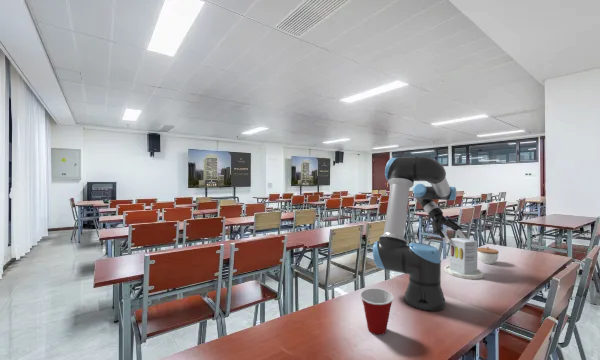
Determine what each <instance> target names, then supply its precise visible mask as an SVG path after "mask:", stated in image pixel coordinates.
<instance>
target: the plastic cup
mask: <svg viewBox="0 0 600 360" xmlns="http://www.w3.org/2000/svg"><path fill="white" fill-rule="evenodd" d="M359 294H360V295H359V296H360V299H361V301H362V304H363V309H364V314H365V320H366V325H367V330H368V331H369V332H370V333H371V332H372V333H371V334H373V333H375V334H374V335H377V334H381V335H384V334H385V333H386V332H387V329H388V323H389V320H390V313H391V307H392V303H393V300H394V298H395V297H394V294H393V293H392V292H390V291H388V290H386V289H383V288H380V287H379V288H376V287H374V288H373V287H372V288H366V289H364V290H362V291H361V292H360V293H359ZM385 331H386V332H385ZM383 333H384V334H383Z"/></svg>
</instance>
